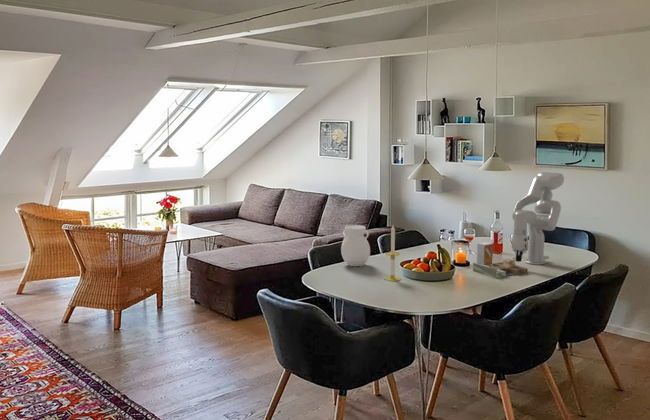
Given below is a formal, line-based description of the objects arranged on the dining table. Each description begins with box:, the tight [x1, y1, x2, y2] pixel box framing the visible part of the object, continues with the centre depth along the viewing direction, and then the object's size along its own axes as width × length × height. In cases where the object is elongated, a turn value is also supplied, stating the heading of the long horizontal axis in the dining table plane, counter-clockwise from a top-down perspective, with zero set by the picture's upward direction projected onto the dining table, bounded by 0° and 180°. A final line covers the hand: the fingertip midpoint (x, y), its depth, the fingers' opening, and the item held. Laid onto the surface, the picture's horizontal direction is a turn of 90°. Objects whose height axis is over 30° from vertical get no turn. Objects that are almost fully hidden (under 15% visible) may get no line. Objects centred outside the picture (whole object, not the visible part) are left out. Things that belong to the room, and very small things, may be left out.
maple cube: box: [502, 258, 516, 267], centre depth 393 cm, size 5×5×4 cm
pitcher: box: [340, 224, 371, 267], centre depth 409 cm, size 19×18×25 cm
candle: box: [385, 225, 402, 282], centre depth 373 cm, size 10×10×32 cm
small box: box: [476, 242, 494, 265], centre depth 414 cm, size 8×6×13 cm
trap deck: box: [472, 261, 528, 279], centre depth 391 cm, size 25×20×5 cm
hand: (518, 261), depth 396 cm, fingers closed
